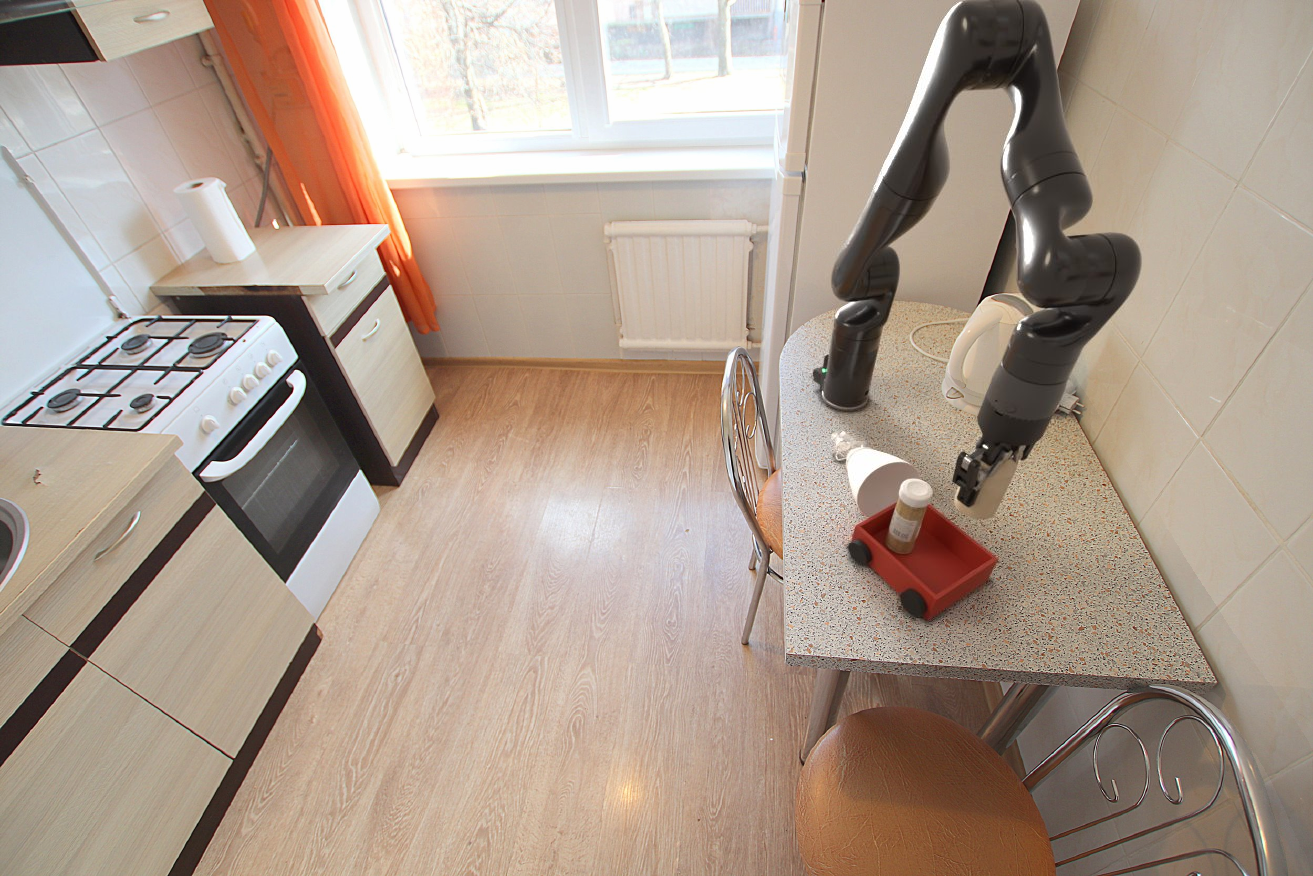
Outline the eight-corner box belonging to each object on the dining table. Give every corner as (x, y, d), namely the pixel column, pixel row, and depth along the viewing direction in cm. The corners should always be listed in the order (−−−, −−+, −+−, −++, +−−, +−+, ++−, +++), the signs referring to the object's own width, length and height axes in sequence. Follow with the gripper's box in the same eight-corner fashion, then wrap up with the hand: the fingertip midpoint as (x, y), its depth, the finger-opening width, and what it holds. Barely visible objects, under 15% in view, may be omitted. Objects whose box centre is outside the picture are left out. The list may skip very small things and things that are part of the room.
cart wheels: (846, 553, 101) (850, 537, 98) (915, 513, 106) (920, 497, 103) (917, 622, 91) (924, 607, 88) (989, 574, 96) (998, 558, 94)
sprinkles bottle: (919, 546, 100) (940, 490, 91) (900, 560, 98) (919, 504, 89) (896, 529, 103) (914, 473, 94) (878, 541, 101) (894, 486, 92)
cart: (849, 547, 102) (855, 525, 98) (907, 514, 106) (914, 492, 102) (927, 621, 91) (936, 599, 87) (987, 580, 95) (999, 558, 92)
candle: (1002, 502, 86) (1027, 451, 80) (987, 526, 83) (1012, 475, 77) (962, 485, 89) (983, 434, 82) (947, 507, 86) (967, 456, 79)
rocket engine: (840, 403, 114) (890, 450, 98) (881, 430, 119) (934, 479, 103) (801, 450, 117) (843, 503, 102) (842, 474, 122) (888, 529, 107)
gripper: (1032, 362, 78) (990, 457, 89) (954, 402, 73) (921, 498, 85) (1089, 392, 73) (1038, 489, 85) (1009, 437, 68) (966, 533, 80)
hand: (979, 493), depth 84 cm, fingers closed on candle, 5 cm apart
